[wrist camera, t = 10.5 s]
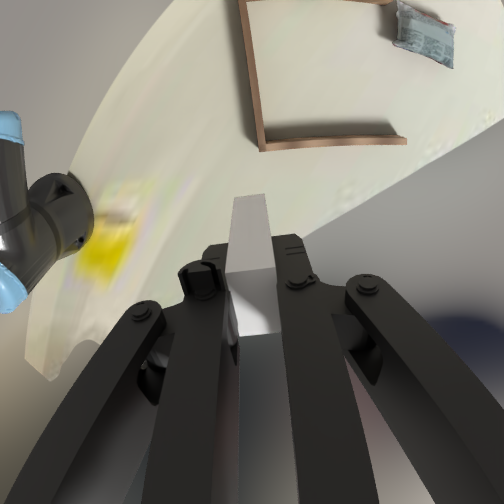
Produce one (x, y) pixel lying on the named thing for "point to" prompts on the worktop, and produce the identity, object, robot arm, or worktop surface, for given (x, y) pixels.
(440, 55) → the packaged food
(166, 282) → the worktop surface
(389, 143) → the wooden frame
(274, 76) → the worktop surface
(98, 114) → the worktop surface
